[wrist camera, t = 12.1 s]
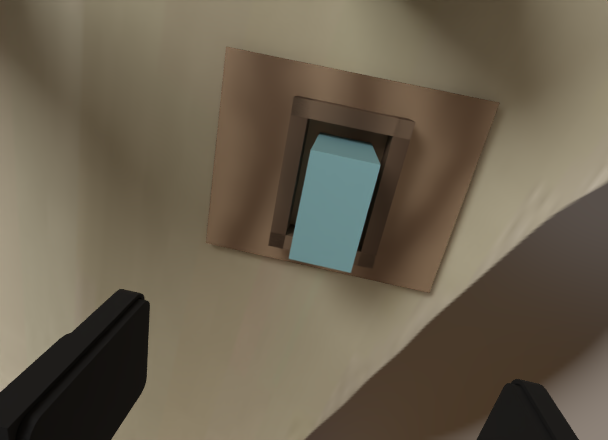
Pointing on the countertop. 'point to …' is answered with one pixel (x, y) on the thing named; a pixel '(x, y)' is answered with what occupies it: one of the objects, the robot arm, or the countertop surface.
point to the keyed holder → (350, 124)
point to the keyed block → (334, 201)
